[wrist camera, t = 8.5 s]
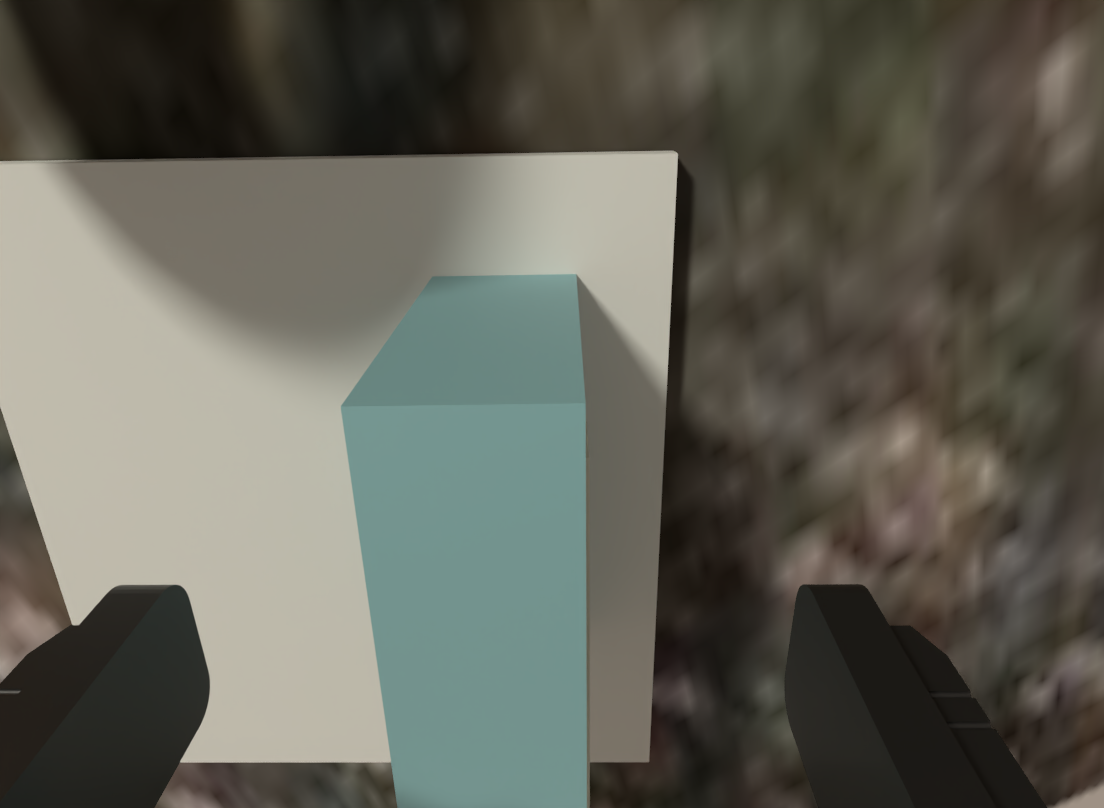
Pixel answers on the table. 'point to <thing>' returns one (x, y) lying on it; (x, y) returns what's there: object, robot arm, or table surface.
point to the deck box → (479, 542)
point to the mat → (310, 400)
